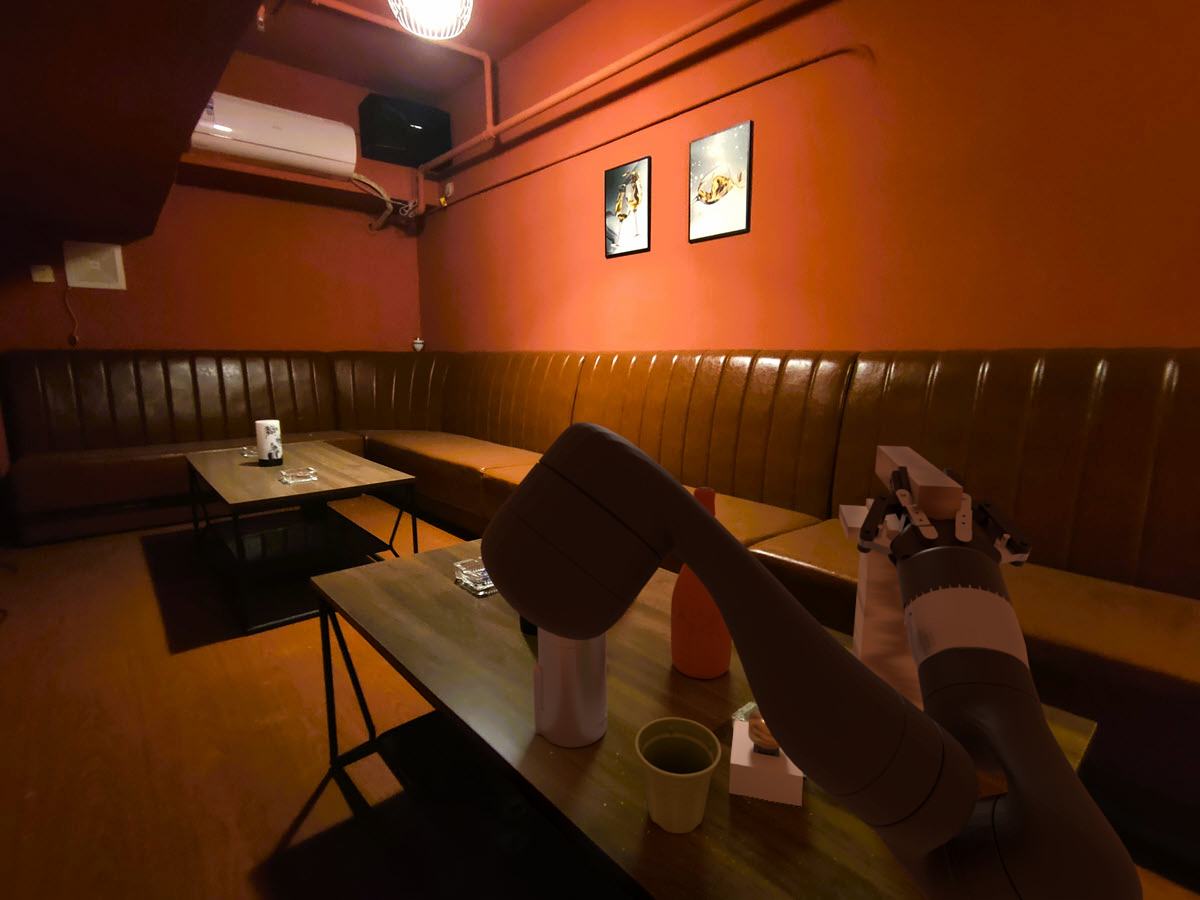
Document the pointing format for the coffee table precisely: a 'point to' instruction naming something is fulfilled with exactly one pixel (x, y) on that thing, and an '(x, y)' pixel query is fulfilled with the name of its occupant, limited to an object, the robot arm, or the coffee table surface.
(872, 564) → the birch stand
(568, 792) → the coffee table surface
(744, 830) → the coffee table surface
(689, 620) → the wine bottle
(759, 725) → the brass button
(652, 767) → the plant pot
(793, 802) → the button housing
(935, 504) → the wooden beam
